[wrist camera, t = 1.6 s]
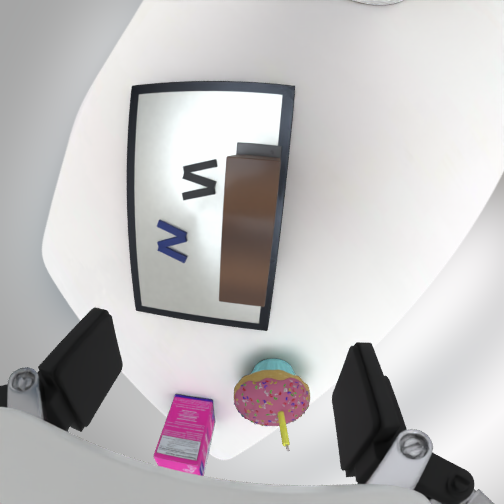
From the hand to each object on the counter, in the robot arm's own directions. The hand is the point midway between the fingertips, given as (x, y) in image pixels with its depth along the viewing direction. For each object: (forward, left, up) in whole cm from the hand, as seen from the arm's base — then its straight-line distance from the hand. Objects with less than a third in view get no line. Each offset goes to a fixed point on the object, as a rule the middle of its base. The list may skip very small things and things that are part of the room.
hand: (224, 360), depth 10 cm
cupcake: (+18, +4, -18) cm, 25 cm away
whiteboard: (-1, -5, -18) cm, 18 cm away
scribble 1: (+2, -8, -17) cm, 19 cm away
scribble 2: (-4, -5, -17) cm, 18 cm away
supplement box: (+28, -6, -18) cm, 34 cm away
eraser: (-1, 0, -17) cm, 17 cm away
